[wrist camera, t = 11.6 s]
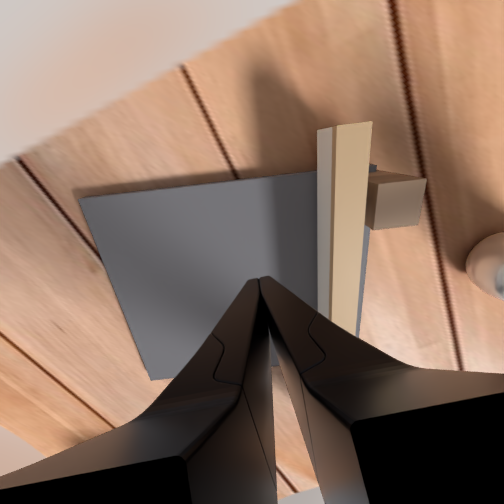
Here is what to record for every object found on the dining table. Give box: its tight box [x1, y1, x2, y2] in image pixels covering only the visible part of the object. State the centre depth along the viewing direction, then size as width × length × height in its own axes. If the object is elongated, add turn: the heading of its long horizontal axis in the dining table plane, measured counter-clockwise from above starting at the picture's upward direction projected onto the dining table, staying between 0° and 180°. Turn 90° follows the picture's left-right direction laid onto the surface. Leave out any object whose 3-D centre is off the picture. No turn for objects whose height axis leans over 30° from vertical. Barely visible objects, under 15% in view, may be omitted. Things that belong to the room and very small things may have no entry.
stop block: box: [364, 170, 427, 230], centre depth 18 cm, size 3×3×6 cm
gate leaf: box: [317, 121, 373, 336], centre depth 19 cm, size 17×2×4 cm, turn 7°
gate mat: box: [78, 164, 377, 381], centre depth 24 cm, size 21×24×1 cm
